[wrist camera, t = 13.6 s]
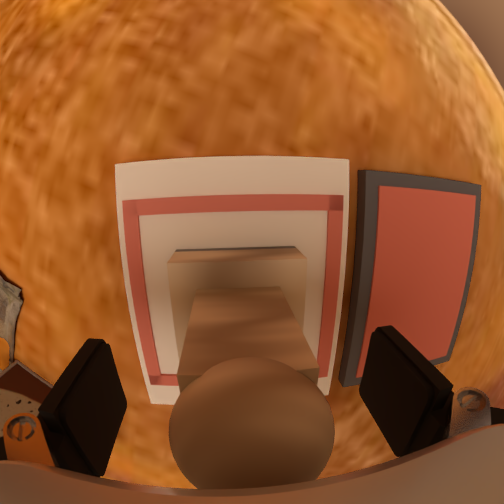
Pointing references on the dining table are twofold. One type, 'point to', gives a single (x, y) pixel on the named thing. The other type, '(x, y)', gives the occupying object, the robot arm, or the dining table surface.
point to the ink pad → (410, 263)
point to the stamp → (245, 370)
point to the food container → (20, 392)
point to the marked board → (230, 240)
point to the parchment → (9, 313)
